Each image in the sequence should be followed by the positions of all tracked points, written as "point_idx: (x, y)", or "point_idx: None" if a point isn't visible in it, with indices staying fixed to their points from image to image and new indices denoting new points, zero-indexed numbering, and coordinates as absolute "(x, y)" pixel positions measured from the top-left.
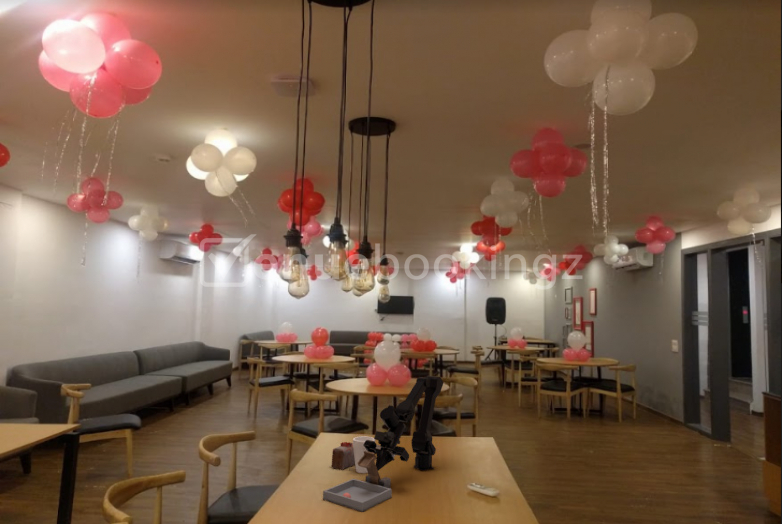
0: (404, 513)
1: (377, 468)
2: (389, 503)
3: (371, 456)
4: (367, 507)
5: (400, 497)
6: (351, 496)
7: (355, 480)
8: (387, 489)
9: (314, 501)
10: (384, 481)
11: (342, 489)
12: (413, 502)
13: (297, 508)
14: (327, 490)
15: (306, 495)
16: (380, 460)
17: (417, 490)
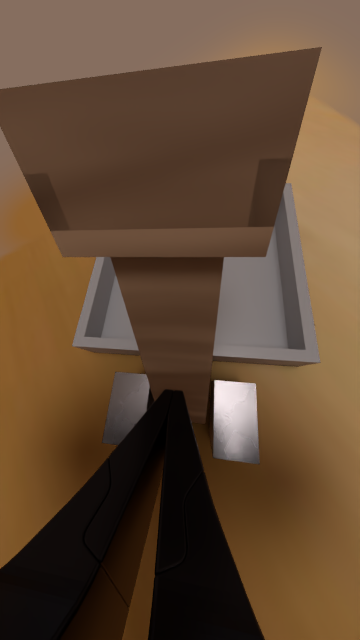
0: (18, 269)
1: (160, 394)
2: (80, 302)
3: (120, 197)
4: None
5: (62, 373)
6: None
7: (290, 349)
8: (91, 337)
9: None
10: (116, 374)
11: (283, 282)
12: (7, 357)
13: None
14: (283, 194)
15: (349, 204)
16: (130, 469)
17: (13, 510)
